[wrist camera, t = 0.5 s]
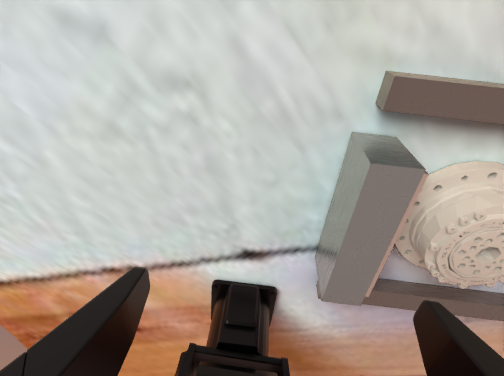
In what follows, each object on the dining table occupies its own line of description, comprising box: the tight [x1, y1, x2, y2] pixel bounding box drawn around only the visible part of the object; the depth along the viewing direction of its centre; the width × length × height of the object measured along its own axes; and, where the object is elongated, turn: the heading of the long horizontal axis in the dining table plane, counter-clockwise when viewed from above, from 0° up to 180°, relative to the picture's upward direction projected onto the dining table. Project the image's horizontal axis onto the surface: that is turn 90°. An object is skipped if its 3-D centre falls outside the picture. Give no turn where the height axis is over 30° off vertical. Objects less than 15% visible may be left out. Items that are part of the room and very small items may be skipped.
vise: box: [316, 71, 504, 321], centre depth 21 cm, size 20×22×4 cm
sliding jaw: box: [315, 132, 429, 306], centre depth 21 cm, size 12×4×5 cm, turn 174°
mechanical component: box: [395, 161, 504, 289], centre depth 21 cm, size 10×4×10 cm
